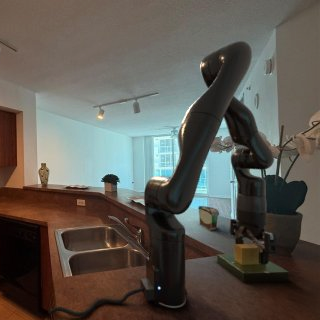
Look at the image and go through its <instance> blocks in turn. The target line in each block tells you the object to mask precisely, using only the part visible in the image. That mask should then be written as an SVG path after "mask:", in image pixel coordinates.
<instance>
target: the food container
mask: <svg viewBox="0 0 320 320" xmlns="http://www.w3.org/2000/svg"><path fill="white" fill-rule="evenodd" d="M218 216H220V211H219V209H217V208H215V207H211V206H205V205H199V206H198V218H199V225H200V226H202V227H203V228H206V230H208V231H210V232H215V231H216V230H217V226H218Z"/></svg>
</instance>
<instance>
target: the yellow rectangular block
mask: <svg viewBox="0 0 320 320" xmlns="http://www.w3.org/2000/svg"><path fill="white" fill-rule="evenodd" d="M261 246H262V248H264V247H263V245H261ZM259 252H260V251H259V249H258V247H257V246H256V245H255V244H254V243H244V244H235V243H234V254H235V261H237V262H238V263H240V264H241V265H254V264H260V263H259Z"/></svg>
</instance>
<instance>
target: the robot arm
mask: <svg viewBox="0 0 320 320" xmlns="http://www.w3.org/2000/svg"><path fill="white" fill-rule="evenodd" d="M252 59H253V51H252V47H251V45H250V44H249V43H248V42H247V41H244V40H243V41H242V40H239V41H238V40H237V41H235V42H231V43H228V44H227V45H224V46H223V47H220V48H218V49H217V50H215V51H212V52H211V53H209V54H207V55H205V56H204V57H203V59H202V60H201V62H200V66H199V67H200V68H199V71H200V75H201V77H202V80H203V82H204V84H205V86H206V88H207V89H206V90H205V91H203V93H202V94H201V95H200V96H199V97H198V98H197V99H196V100H195V101H194V102H193V103H192V104H191V105H190V106H189V108H188V109H187V110H186V112H185V114H184V116H183V118H182V120H181V123H180V125H179V127H178V129H177V130H178V131H177V136H176V138H177V144H178V151H179V155H178V159H177V160H178V161H177V163H176V166H175V168H174V170H173V172H172V174H171V176H166V175H155V176H152V177H150V179H148V181H147V182H146V184H145V187H144V193H143V200H144V216H145V217H144V218H145V223H146V225H147V228H148V231H147V232H148V256H147V257H145V277H140V278H139V279H140V281H139V282H140V284H139V285H140V287H138V288H135V289H133V290H130V291H128V292H126V294H125V295H123V296H122V298H118V299H113V298H107V297H106V298H103V297H102V298H98V299H96V300H95V301H93V302H92V303H91V305H90V306H89V307H88V308H87V309H85V310H83V311H74V310H72V309H69V308H66V307H64V306H55V307H52V309H50V310H49V311H48V315H53V314H54V313H56V312H63V313H64V314H67V315H70V316H72V317H84V316H86V315H88V314H89V313H90V312H92V311H93V310H94V308H95V307H96V306H97V305H100V304H102V303H107V304H108V303H109V304H114V305H115V304H116V305H117V304H122V303H124V302H126V301H127V300H128V298H129V297H131V296H133V295H135V294H139V293H142V294H143V297H144V298H145V300H146V301H152V303H153V305H155V306H160V307H162V308H166V309H168V310H169V309H170V310H179V309H182V308H183V307H185V305H186V303H187V297H188V291H187V289H186V229H185V226H184V225H183V223H181V222H180V220H179V219H178V218H177V217H176V216H179V215H182V214H184V213H186V211H188V209H189V208H190V206H191V205H192V203H193V201H194V198H195V195H196V191H197V188H198V185H199V182H200V178H201V174H202V172H203V168H204V166H205V162H206V160H207V158H208V155H209V154H210V153H209V152H210V150H211V148H212V145H213V143H214V141H215V139H216V137H217V135H218V132H219V130H220V128H221V125H222V123H223V120H224V123H225V126H226V129H227V132H228V135H229V139H230V141H231V143H233V144H234V145H238V146H243V147H238V148H236V149H234V150H233V151H232V152H231V154H230V165H231V167H232V170H233V173H234V176H235V179H236V198H235V218H231V219H230V221H229V222H230V224H229V235H230V236H233V238H234V245H235V244H245V242H244V239H245V238H246V239H249V240H250V241H252V244H255V245H256V246H257V247H258V249H259V251H260V252H259V263H260V264H267V263H268V262H269V261H270V260H269V259H270V258H269V255H270V254H277V252H278V251H277V236H276V233H274V232H268V231H266V230H265V226H266V225H267V223H268V222H267V218H268V217H267V210H268V209H267V208H268V204H267V198H266V195H267V194H266V192H267V191H266V186H267V185H266V184H267V183H266V180H265V179H264V178H263V177H261V176H257V175H254V174H252V173H251V172H250V170H259V171H260V170H268V169H270V168H271V167H272V166H273V165H274V162H275V155H274V153H273V151H272V149H271V148H270V146H269V145H268V144H267V142H266V141H265V140H264V138H263V136H262V135H261V134H260V131H259V128H258V124H257V121H256V117H255V116H254V113H253V112H252V110H251V109H250V108H249V107H248V106H247V105H246V104H244V103H243V102H242V101H241V100H239V98H237V97H236V96H235V95H236V93H237V90H238V88H239V87H240V85H241V83H242V82H243V80H244V78H245V76H246V74H247V73H248V71H249V69H250V66H251V64H252ZM261 245H263V247H264V248H262V246H261Z"/></svg>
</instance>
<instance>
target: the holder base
mask: <svg viewBox="0 0 320 320" xmlns="http://www.w3.org/2000/svg"><path fill="white" fill-rule="evenodd" d="M216 257H217V258H216V260H217V261H216V262H217V264H218V265H220V266H221V267H223V268H224V269H225V270H226V271H228V272H229V273H230V274H231V275H233V276H234V277H236V278H237V279H238V280H239V281H241V282H242V283H244V284H245V283H247V284H248V283H250V284H251V283H275V282H277V283H278V282H279V283H281V282H289V281H290V278H289V275H290V273H289V272H290V271H288V270H286V269H285V268H283V267H282V266H279V265H278V264H275V263H274V262H273V261H270V260H269V262H268V263H267V264H254V265H241V264H240V263H238V262H237V261H235V253H226V254H225V253H223V254H217V256H216Z"/></svg>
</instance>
